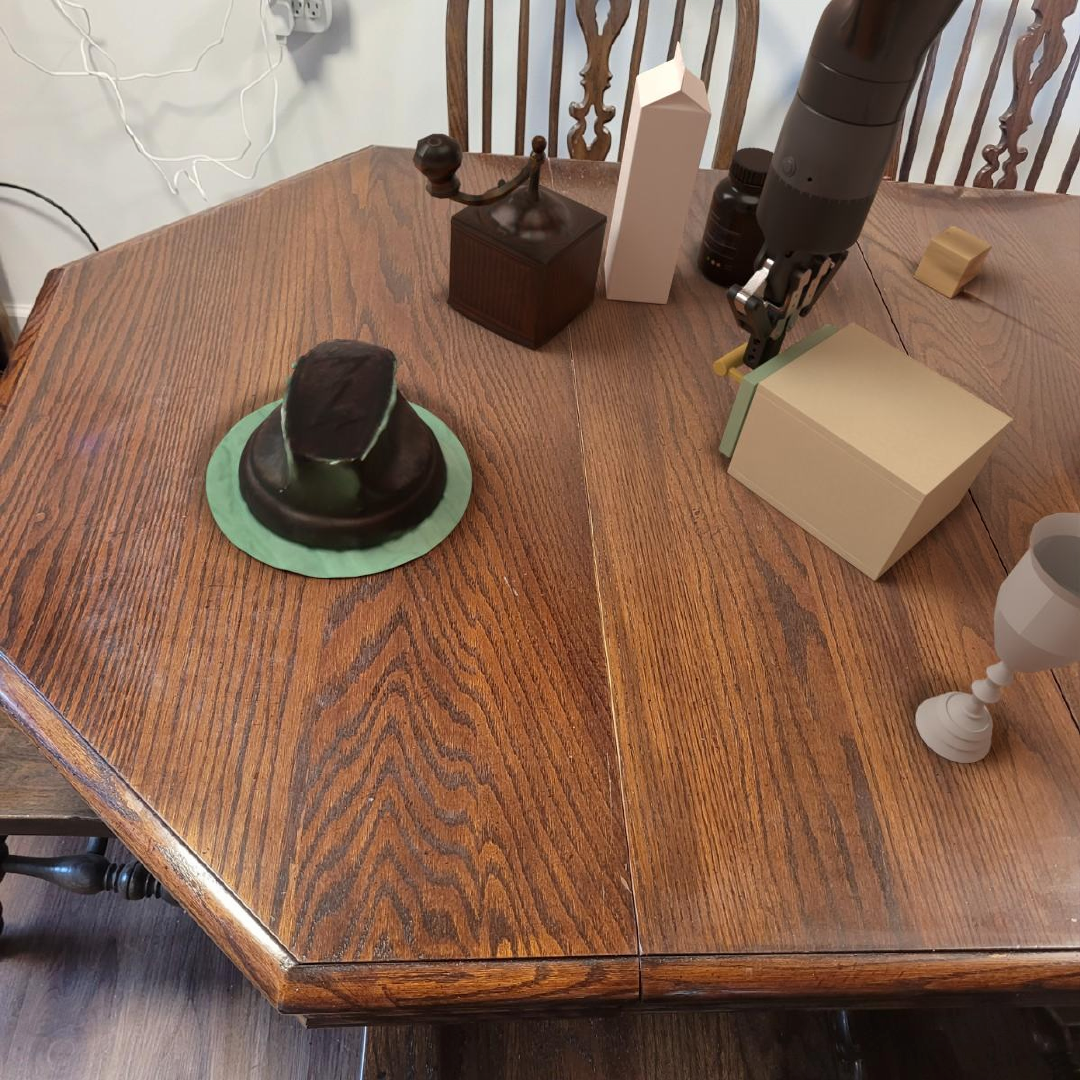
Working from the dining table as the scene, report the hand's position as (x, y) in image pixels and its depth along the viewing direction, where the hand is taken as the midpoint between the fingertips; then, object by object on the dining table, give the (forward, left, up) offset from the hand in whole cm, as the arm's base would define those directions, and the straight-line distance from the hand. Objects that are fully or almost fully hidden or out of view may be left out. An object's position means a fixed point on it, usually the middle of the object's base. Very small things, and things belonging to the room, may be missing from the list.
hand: (757, 365), depth 77 cm
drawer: (0, +7, -5) cm, 8 cm away
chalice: (+13, +29, -6) cm, 32 cm away
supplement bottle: (-17, -15, -6) cm, 24 cm away
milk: (-7, -19, -6) cm, 21 cm away
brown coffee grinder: (+7, -23, -6) cm, 25 cm away
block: (-35, 0, -6) cm, 36 cm away
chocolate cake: (+31, -15, -6) cm, 35 cm away
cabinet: (0, +11, -6) cm, 12 cm away
